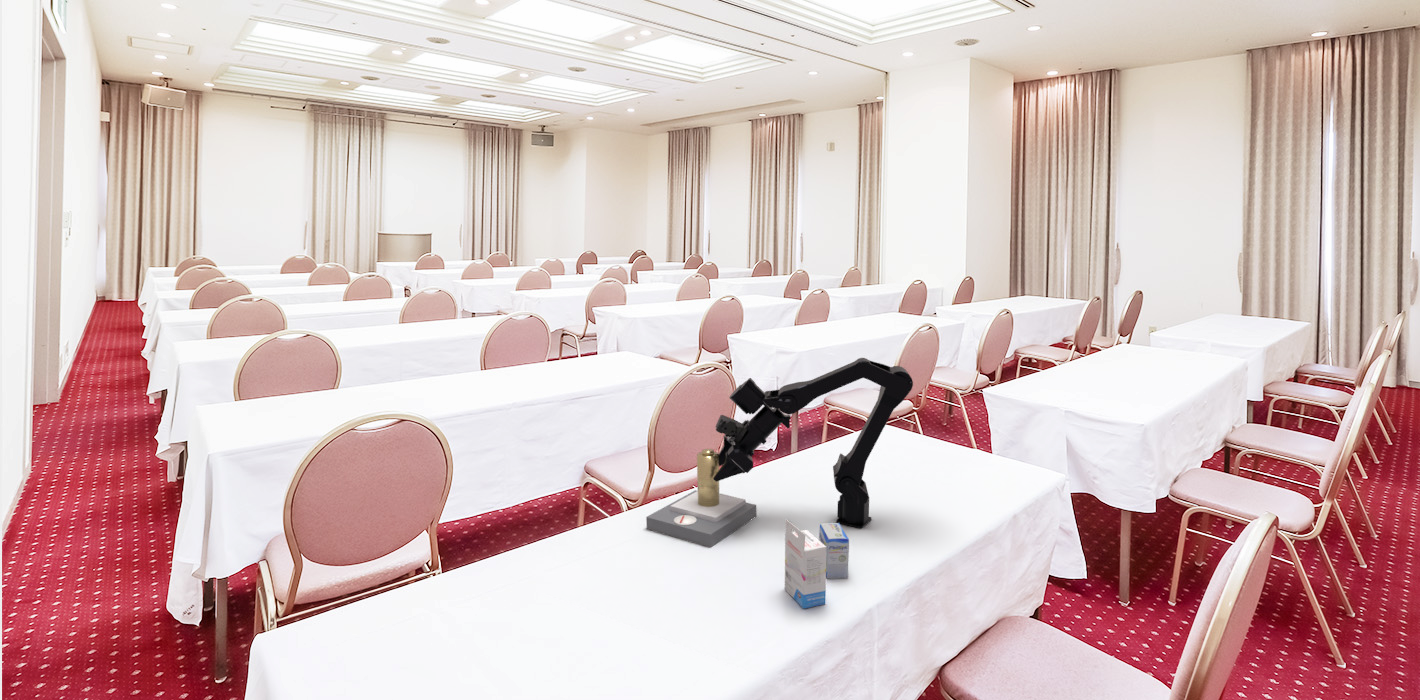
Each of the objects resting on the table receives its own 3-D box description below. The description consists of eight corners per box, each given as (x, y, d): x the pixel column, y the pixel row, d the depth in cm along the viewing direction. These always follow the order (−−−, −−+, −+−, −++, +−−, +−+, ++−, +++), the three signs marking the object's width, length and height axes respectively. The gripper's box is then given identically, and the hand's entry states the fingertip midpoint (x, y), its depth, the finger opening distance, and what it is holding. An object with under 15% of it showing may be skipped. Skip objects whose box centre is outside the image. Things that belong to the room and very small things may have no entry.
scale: (756, 516, 181) (756, 500, 180) (710, 547, 165) (710, 529, 164) (695, 501, 191) (695, 485, 190) (646, 529, 175) (646, 512, 174)
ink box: (827, 604, 140) (828, 531, 138) (803, 609, 139) (804, 535, 136) (806, 584, 148) (807, 514, 146) (783, 588, 147) (784, 517, 144)
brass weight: (723, 504, 178) (722, 452, 176) (703, 508, 176) (702, 455, 173) (714, 497, 182) (713, 446, 180) (694, 500, 180) (693, 449, 178)
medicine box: (818, 561, 158) (818, 522, 156) (838, 560, 158) (839, 522, 157) (826, 579, 150) (827, 539, 148) (848, 578, 150) (849, 538, 149)
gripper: (733, 395, 184) (689, 439, 186) (737, 415, 166) (689, 464, 167) (765, 425, 186) (721, 468, 187) (773, 448, 167) (725, 496, 169)
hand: (714, 473), depth 178 cm, fingers open, 9 cm apart
